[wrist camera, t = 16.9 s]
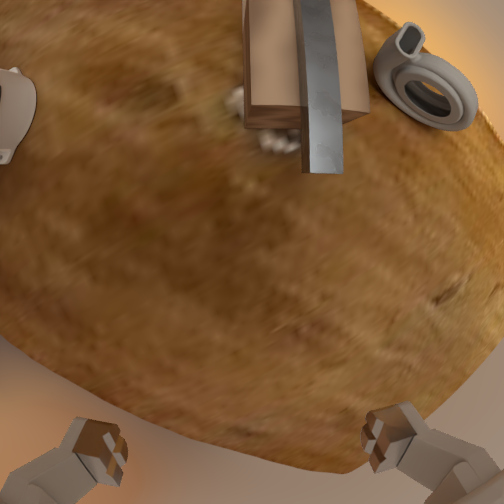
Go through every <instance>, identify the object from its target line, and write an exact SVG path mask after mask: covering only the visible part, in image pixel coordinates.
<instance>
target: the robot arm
mask: <svg viewBox="0 0 504 504" xmlns="http://www.w3.org/2000/svg"><path fill="white" fill-rule="evenodd" d="M35 107H36V90H35V87H34V84H33V82H32V81H31V80H30V79H29V78H27V77H25V76H23V75H22V73H21V71H20V69H19V68H17V67H13V68H11V69H10V70H9V71H8V70H4V69H0V164H8V163H9V162H10V161H11V159H12V156H13V154H14V151H15V149H16V147H17V145H18V144H19V143H20V142H21V140H22V139H23V137H24V136H25V134H26V133H27V131H28V129H29V127H30V124H31V122H32V119H33V116H34V112H35ZM365 420H366V422H367V423H366V424H365V425H364V426H363V427H362V430H361V433H360V437H361V444H362V447H363V449H364V451H365V452H367V453H369V454H370V457H369V463H370V465H371V467H372V469H373V471H374V473H379V472H383V471H386V470H389V469H392V468H395V467H397V469H398V470H400V471H401V472H403V473H404V474H406V475H407V476H409V477H411V478H412V479H414V480H415V481H417V482H419V483H420V484H422V485H423V486H425V487H427V488H428V489H430V490H432V491H433V493H432V494H431V495H430V496H429V497H428V498H427V499H426V500H425V502H424V504H504V469H503V470H502V471H501V470H500V469H499V467H498V466H497V465H496V463H495V462H494V461H493V459H492V458H491V457H490V456H489V454H488V453H487V452H486V450H485V449H484V448H482V447H479V446H476V445H474V444H471V443H468V442H466V441H463V440H461V439H458V438H455V437H453V436H450V435H448V434H446V433H443V432H441V431H438V430H436V429H431V430H430V428H429V427H428V426H427V424H426V423H425V421H424V420H423V419H422V417H421V416H420V415H419V413H418V412H417V410H416V409H415V408H414V406H413V405H412V404H411V402H409V401H405V402H401V403H398V404H395V405H390V406H387V407H383V408H379V409H376V410H372V411H369V412H368V413H367V414H366V417H365ZM119 433H120V429H119V427H118V425H117V424H112V423H107V422H102V421H96V420H92V419H86V418H81V417H76V418H75V419H73V421H72V423H71V425H70V427H69V429H68V431H67V433H66V434H65V436H64V438H63V440H62V442H61V444H60V446H59V448H54V449H52V450H50V451H48V452H47V453H45V454H43V455H41V456H40V457H38V458H36V459H34V460H33V461H31V462H29V463H27V464H25V465H24V466H22V467H20V468H18V469H16V470H14V471H13V472H11V473H10V474H9V476H8V478H7V480H6V482H5V484H4V486H3V488H2V490H1V492H0V504H75V503H76V502H78V501H79V500H80V499H81V498H82V497H83V496H85V495H86V494H87V493H88V492H89V491H90V490H91V489H92V488H94V487H95V486H96V485H97V483H101V484H106V485H111V486H116V487H119V486H120V483H121V479H122V476H123V471H122V469H121V466H123V465H124V464H125V463H126V461H127V457H128V448H127V443H126V441H125V439H124V438H122V437H121V436H120V435H119Z"/></svg>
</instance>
